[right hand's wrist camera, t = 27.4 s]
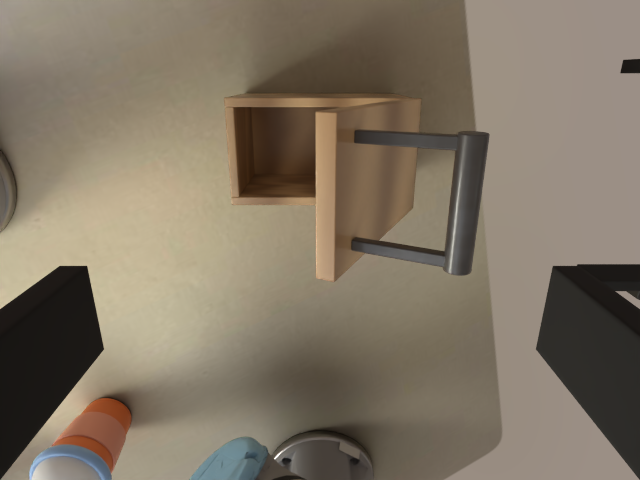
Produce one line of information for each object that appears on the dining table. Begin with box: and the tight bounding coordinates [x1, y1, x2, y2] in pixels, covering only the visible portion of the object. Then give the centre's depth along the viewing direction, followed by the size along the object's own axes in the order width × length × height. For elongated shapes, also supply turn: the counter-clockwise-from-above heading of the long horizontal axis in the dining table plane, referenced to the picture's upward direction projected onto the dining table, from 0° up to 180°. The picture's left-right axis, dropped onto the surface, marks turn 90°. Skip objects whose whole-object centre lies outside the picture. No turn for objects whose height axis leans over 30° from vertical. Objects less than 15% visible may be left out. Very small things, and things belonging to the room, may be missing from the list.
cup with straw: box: [29, 398, 131, 480], centre depth 52 cm, size 9×9×18 cm
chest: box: [224, 93, 410, 205], centre depth 43 cm, size 16×9×10 cm, turn 90°
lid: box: [316, 98, 489, 282], centre depth 29 cm, size 17×9×8 cm
